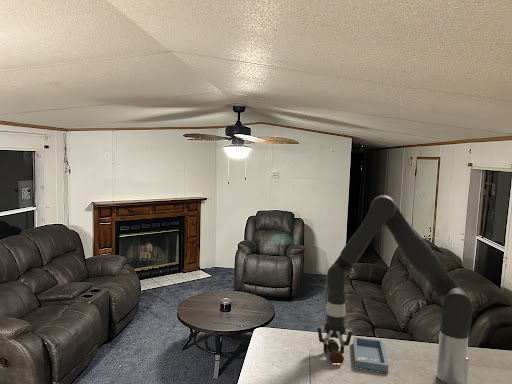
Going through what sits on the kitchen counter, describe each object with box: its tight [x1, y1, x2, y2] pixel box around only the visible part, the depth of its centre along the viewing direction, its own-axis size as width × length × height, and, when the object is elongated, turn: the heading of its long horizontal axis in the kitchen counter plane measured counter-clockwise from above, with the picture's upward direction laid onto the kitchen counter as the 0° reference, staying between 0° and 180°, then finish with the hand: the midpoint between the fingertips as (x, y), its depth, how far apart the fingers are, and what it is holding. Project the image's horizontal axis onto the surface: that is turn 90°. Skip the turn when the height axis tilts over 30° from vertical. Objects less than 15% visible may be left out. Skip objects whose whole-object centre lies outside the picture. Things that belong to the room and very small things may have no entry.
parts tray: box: [352, 336, 390, 374], centre depth 150 cm, size 12×21×3 cm, turn 167°
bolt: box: [327, 338, 345, 364], centre depth 151 cm, size 6×5×15 cm
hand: (333, 353), depth 151 cm, fingers closed on bolt, 5 cm apart
